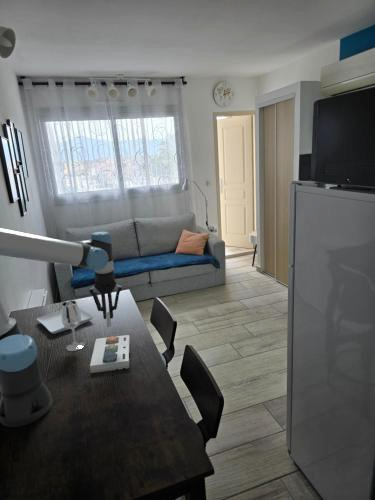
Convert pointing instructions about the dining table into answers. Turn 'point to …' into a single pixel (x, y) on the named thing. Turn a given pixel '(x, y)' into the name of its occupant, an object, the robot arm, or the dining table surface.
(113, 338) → the terracotta button
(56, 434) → the dining table surface
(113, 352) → the slate button
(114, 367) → the button panel
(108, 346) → the sage button
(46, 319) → the salad plate
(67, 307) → the wineglass
